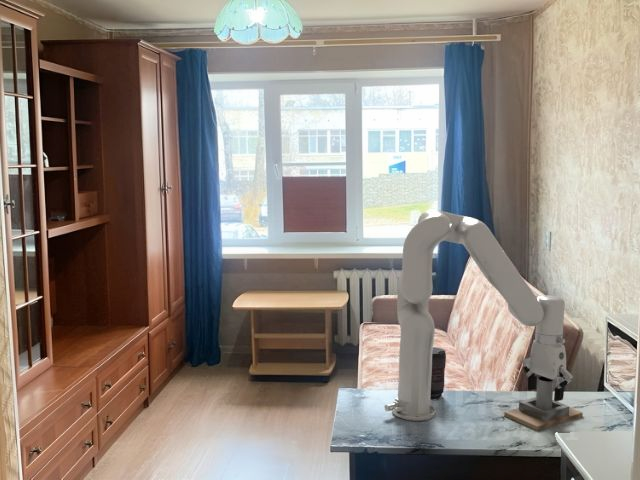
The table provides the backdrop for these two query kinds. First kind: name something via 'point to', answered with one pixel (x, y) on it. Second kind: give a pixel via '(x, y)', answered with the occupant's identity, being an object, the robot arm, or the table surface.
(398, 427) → the table surface
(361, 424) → the table surface
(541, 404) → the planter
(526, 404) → the socket board
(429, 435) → the table surface
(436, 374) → the camera lens
